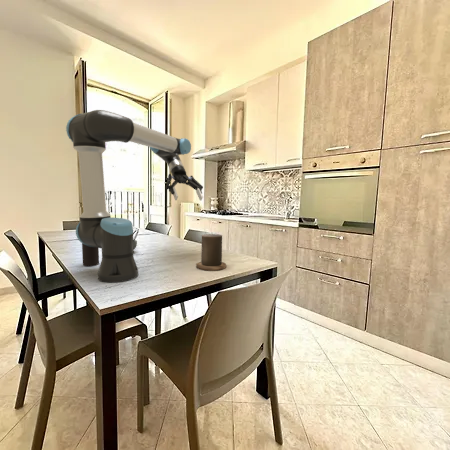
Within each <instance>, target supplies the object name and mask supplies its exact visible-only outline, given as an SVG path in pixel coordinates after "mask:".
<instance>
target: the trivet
mask: <svg viewBox="0 0 450 450" xmlns="http://www.w3.org/2000/svg"><path fill="white" fill-rule="evenodd" d="M195 265H196V266H195V267H196V269H198V270H200V271H204V272H205V271H206V272H216V271H217V272H218V271H223V270H225V269H226V268H227V264H226V263H225V262H223V261H222V264H221V265H220V266H205V265H202V264H201V261H199V262H197V263H196V264H195Z"/></svg>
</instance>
